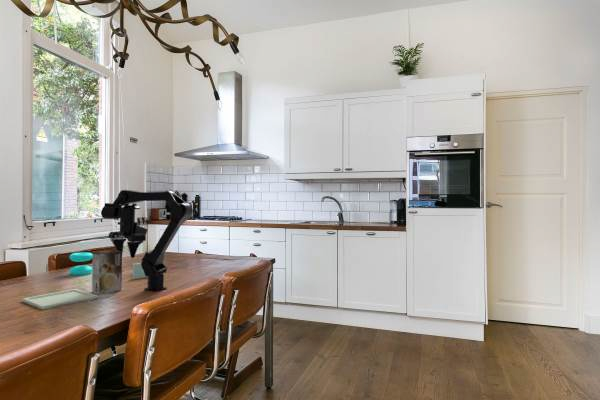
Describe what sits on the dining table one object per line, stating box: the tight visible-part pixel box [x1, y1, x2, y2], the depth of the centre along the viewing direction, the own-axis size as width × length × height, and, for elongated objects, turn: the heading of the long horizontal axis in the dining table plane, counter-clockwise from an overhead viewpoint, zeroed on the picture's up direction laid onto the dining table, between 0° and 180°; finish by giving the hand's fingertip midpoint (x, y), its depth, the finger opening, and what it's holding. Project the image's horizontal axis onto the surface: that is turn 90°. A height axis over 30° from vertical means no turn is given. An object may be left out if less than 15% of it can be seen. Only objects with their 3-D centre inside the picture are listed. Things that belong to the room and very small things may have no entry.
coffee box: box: [91, 249, 123, 295], centre depth 149 cm, size 9×6×16 cm
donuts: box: [68, 252, 93, 276], centre depth 180 cm, size 10×10×10 cm
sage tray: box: [22, 288, 98, 311], centre depth 135 cm, size 16×18×1 cm
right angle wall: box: [132, 262, 148, 280], centre depth 180 cm, size 12×12×8 cm
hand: (126, 256), depth 155 cm, fingers open, 9 cm apart
